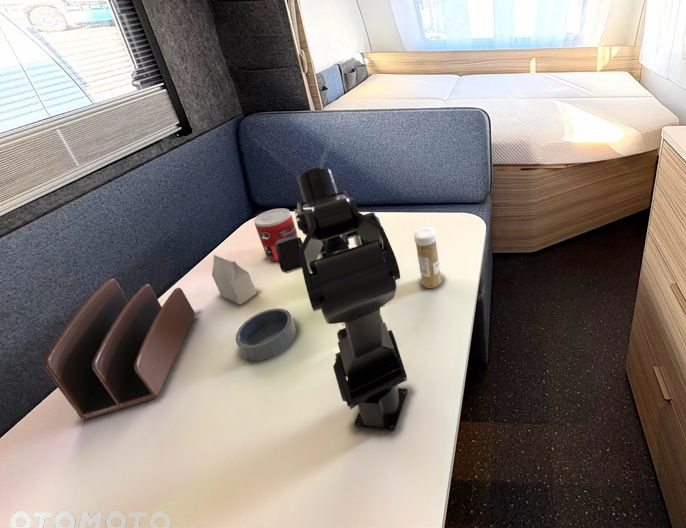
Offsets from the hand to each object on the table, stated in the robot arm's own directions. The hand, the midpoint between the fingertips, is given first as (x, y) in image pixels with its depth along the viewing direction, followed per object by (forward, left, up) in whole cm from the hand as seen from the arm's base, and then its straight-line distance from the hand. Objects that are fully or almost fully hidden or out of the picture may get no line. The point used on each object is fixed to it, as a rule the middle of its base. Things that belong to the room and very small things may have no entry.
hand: (333, 249), depth 82 cm
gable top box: (-4, +23, -10) cm, 25 cm away
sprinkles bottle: (+3, -19, -10) cm, 22 cm away
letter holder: (-21, +28, -10) cm, 36 cm away
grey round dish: (-15, +8, -10) cm, 20 cm away
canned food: (+11, +22, -10) cm, 26 cm away
